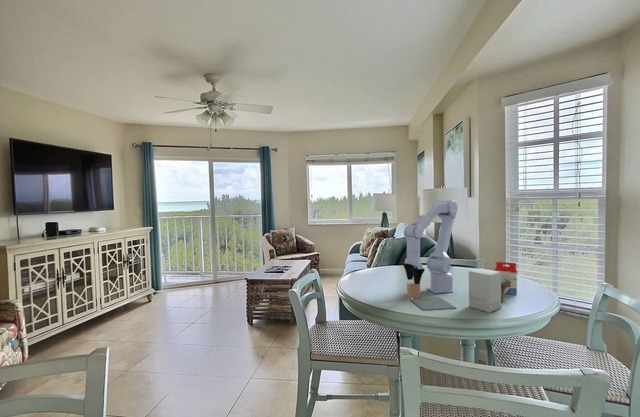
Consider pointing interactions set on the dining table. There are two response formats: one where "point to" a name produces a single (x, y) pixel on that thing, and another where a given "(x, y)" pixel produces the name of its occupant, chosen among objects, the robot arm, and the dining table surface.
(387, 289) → the dining table surface
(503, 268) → the ink box
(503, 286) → the dinosaur figurine
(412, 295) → the slab
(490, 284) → the supplement box
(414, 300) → the mat
